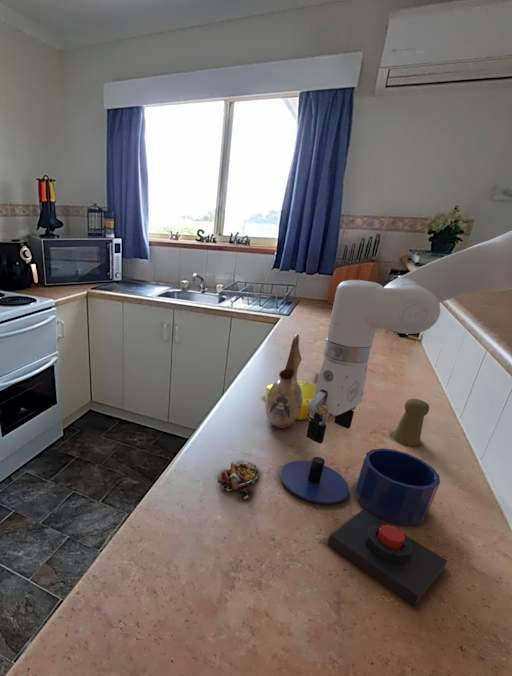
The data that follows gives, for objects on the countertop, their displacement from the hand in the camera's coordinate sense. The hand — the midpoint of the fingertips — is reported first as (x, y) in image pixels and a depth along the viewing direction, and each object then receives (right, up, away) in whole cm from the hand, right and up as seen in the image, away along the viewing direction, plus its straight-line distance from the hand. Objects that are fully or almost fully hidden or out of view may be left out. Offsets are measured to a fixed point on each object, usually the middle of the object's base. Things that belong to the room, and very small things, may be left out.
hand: (328, 432), depth 78 cm
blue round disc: (-1, -11, +5) cm, 12 cm away
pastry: (-17, -11, +5) cm, 21 cm away
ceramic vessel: (-1, -2, +28) cm, 28 cm away
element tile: (+8, +2, +39) cm, 40 cm away
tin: (+13, -14, +1) cm, 19 cm away
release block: (+4, -19, -12) cm, 23 cm away
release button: (+4, -16, -13) cm, 21 cm away
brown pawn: (+30, -5, +24) cm, 39 cm away
